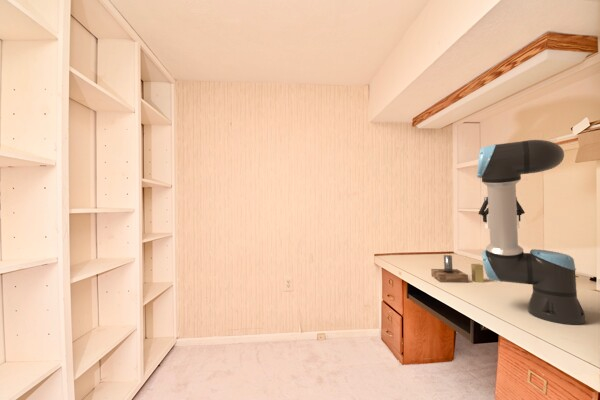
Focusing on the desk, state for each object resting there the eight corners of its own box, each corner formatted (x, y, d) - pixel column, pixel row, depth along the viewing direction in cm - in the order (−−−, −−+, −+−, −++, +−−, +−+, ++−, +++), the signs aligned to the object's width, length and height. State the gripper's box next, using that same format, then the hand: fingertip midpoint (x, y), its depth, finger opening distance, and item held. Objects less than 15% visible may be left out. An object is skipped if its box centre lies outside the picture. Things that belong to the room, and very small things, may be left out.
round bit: (454, 278, 146) (453, 256, 147) (446, 278, 147) (445, 256, 148) (451, 276, 150) (450, 255, 151) (443, 276, 151) (442, 255, 152)
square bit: (483, 282, 140) (482, 265, 141) (475, 282, 141) (474, 265, 141) (480, 280, 144) (479, 263, 145) (472, 280, 145) (471, 263, 145)
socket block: (468, 282, 141) (467, 275, 141) (439, 282, 143) (439, 274, 143) (457, 276, 154) (456, 269, 155) (431, 275, 157) (431, 268, 157)
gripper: (521, 186, 139) (524, 227, 138) (469, 188, 143) (471, 228, 142) (531, 185, 131) (534, 228, 130) (476, 187, 135) (478, 229, 135)
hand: (501, 228), depth 136 cm, fingers open, 13 cm apart
